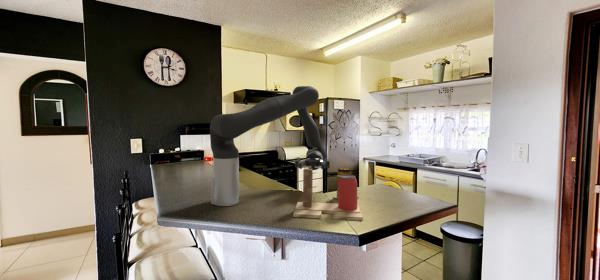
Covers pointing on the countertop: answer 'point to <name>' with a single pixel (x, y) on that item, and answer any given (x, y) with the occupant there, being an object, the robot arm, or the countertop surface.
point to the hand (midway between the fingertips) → (311, 166)
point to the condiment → (342, 172)
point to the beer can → (347, 192)
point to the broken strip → (336, 215)
